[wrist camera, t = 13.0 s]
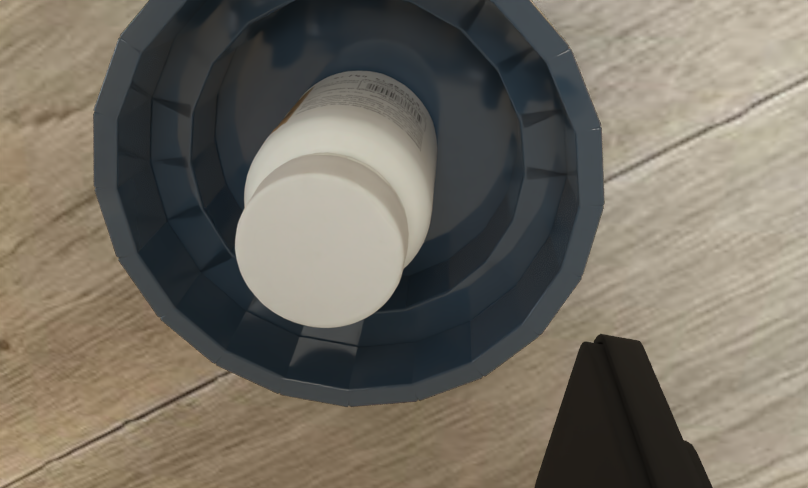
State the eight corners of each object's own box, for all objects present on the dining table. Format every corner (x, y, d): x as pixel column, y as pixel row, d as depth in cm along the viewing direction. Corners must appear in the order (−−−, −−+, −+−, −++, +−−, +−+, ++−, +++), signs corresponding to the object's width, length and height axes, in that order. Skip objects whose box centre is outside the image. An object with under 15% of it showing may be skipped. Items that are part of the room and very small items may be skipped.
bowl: (174, -123, 20) (90, -132, 15) (625, -38, 20) (675, -22, 15) (159, 278, 25) (93, 362, 20) (519, 344, 25) (532, 441, 20)
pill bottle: (272, 80, 21) (182, 166, 14) (425, 57, 21) (409, 134, 14) (305, 221, 23) (239, 360, 16) (446, 203, 22) (442, 339, 15)
